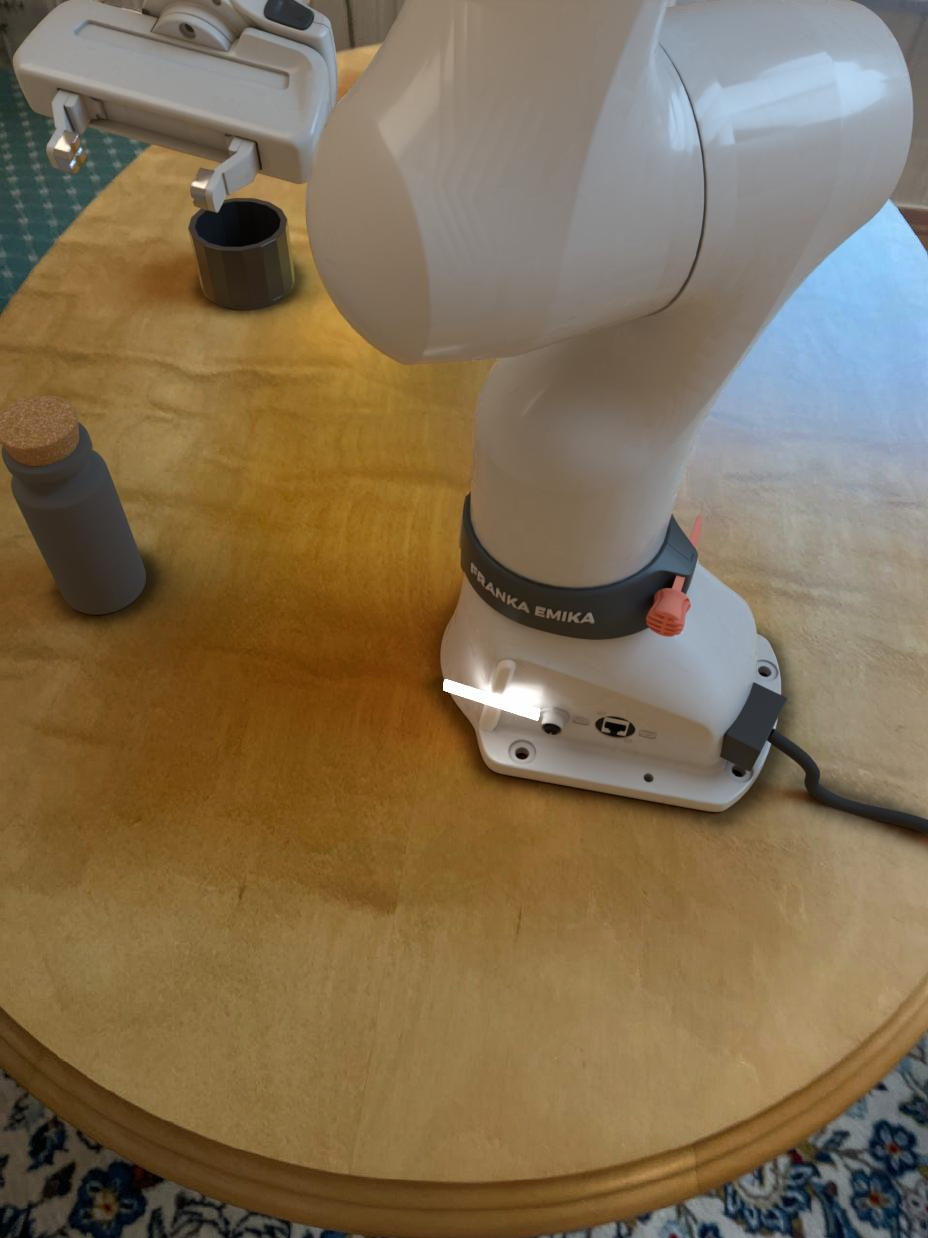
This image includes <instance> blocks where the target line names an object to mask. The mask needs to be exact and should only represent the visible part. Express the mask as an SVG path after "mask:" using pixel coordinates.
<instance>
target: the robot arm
mask: <svg viewBox="0 0 928 1238" xmlns="http://www.w3.org/2000/svg"><path fill="white" fill-rule="evenodd" d="M310 1H311V0H143V3H142V6H141V8H138V7H133V6H129V5H124V4H118V3H117V4H116V3H111V2H108V1H107V0H65V1H64V2H61V3H59V4H58V5H57V6H56V7H54V8H53V9H52V10H50V12H48V14H47V15H46V16H45V17H44V18H42V20H41V21H40V22H39V23H38V24H37V25H36V26H35V27H34V28H33V30H32V31H31V32H29V34H28V35H27V36H26V38H24V40H23V41H22V43H21V44H20V45H19V47H18V48H17V50H16V51H15V52H14V55H13V57H12V66H13V70H14V74H15V76H16V79H17V82H18V85H19V88H20V89H21V91H22V94H23V95H24V98H25V100H26V101H27V103H28V105H29V107H30V108H31V110H32V111H33V112H34V113H36V114H39V115H42V116H45V117H49V118H53V124H54V129H55V130H54V132H53V134H52V136H51V137H50V139H49V140H48V142H47V144H46V150H45V152H46V156H47V158H48V160H49V163H50V165H51V168H52V169H55V170H60V171H64V172H66V173H67V172H68V173H71V174H79V172H80V170H81V168H80V167H81V166H83V165H84V163H85V162H86V160H87V158H88V156H87V153H86V151H85V148H84V147H83V146H82V143H83V142H82V141H81V140H82V139H81V138H80V135H83V134H84V133H85V132H86V130H87V128H89V129H94V130H97V131H101V132H104V133H108V134H112V135H115V136H119V137H123V138H126V139H130V140H134V141H137V142H141V143H145V144H148V145H152V146H156V147H159V148H163V149H167V150H171V151H174V152H178V153H181V154H186V155H190V156H193V157H195V158H196V157H197V158H200V159H203V160H208V161H212V162H215V163H219V165H217V166H215V167H214V168H213V169H212V170H211V169H207V168H204V167H199V168H198V171H197V172H196V174H195V178H194V179H193V180H192V182H191V185H190V187H189V188H190V190H189V193H190V197H191V198H192V199H193V201H192V204H193V207H195V208H199V209H205V210H208V211H213V212H216V213H218V212H219V210H220V208H221V206H222V204H223V202H224V200H226V199H227V196H231V195H232V194H235V193H236V192H238V191H240V190H241V189H243V188H245V187H246V186H249V185H250V184H252V183H254V182H255V179H256V177H257V176H258V174H260V175H262V176H267V177H269V178H274V179H278V180H281V181H285V182H288V183H292V184H296V185H303V184H306V188H305V225H306V231H307V238H308V243H309V247H310V248H309V249H310V251H311V256H312V259H313V262H314V265H315V268H316V271H317V274H318V276H319V279H320V281H321V283H322V286H323V288H324V289H325V291H326V293H327V295H328V296H329V298H330V300H331V301H332V303H333V306H335V308H336V310H337V311H338V312H339V314H340V315H341V317H343V319H344V320H345V321H346V323H347V324H348V325H349V326H350V327H351V328H352V329H353V331H355V333H356V334H357V335H359V336H360V337H361V338H362V339H363V340H364V341H365V342H366V343H368V345H370V346H371V347H373V348H374V349H375V350H377V351H378V352H379V353H380V354H383V355H384V356H386V357H387V358H388V359H390V360H392V361H394V362H395V363H398V364H400V365H403V366H422V365H423V366H424V365H425V366H426V365H440V364H455V363H467V362H468V363H469V362H478V361H488V360H495V361H494V363H493V364H492V366H491V367H490V369H489V370H488V372H487V374H486V376H485V377H484V379H483V381H482V384H481V386H480V388H479V390H478V391H479V392H478V394H477V397H476V400H475V405H474V409H473V418H472V446H471V447H472V449H471V472H470V473H471V477H470V491H469V492H468V493H467V494H466V495H465V496H464V501H463V506H462V512H461V517H460V518H461V519H460V524H459V536H458V538H459V539H458V545H459V546H458V547H459V550H460V569H461V570H462V573H463V580H462V585H461V589H460V594H459V598H458V600H457V604H456V607H455V610H454V612H453V614H452V616H451V617H450V620H449V621H448V623H447V625H446V628H445V630H444V633H443V636H442V639H441V643H440V650H439V651H440V652H439V661H440V669H441V674H442V678H443V691H445V692H448V693H449V695H450V696H451V698H452V700H453V701H454V703H455V704H456V706H457V707H458V709H459V710H460V711H461V712H462V714H463V715H464V716H465V717H466V718H467V720H468V721H469V723H470V724H471V725H472V727H473V729H474V733H475V736H476V742H477V745H478V749H479V752H480V756H481V758H482V760H483V762H484V764H485V765H486V767H487V768H488V769H489V770H491V771H492V772H495V773H497V774H500V775H505V776H511V777H515V778H522V779H526V780H527V779H528V780H532V781H538V782H543V783H549V784H554V785H561V786H565V787H570V788H571V787H572V788H577V789H581V790H582V789H583V790H588V791H593V792H598V793H605V794H610V795H616V796H620V797H626V798H630V799H631V798H632V799H636V800H637V799H638V800H643V801H649V802H653V803H660V804H664V805H671V806H676V807H682V808H687V809H691V810H692V809H693V810H697V811H703V812H711V813H721V812H724V811H727V810H728V809H729V808H730V807H732V806H733V805H735V804H736V803H737V802H738V801H740V800H741V798H742V797H744V796H745V794H747V792H749V790H750V789H751V787H752V786H753V785H754V784H755V781H756V780H757V778H758V777H759V775H760V773H761V771H762V769H763V767H764V765H765V762H766V760H767V757H768V755H769V752H770V750H771V746H773V747H775V748H776V749H777V750H779V751H780V752H781V753H783V754H785V755H786V756H787V757H788V758H790V759H791V760H793V761H794V762H795V763H796V764H797V765H798V766H799V767H800V768H801V769H802V770H803V771H804V773H805V776H804V787H805V789H806V791H807V792H808V793H809V794H810V795H811V796H812V797H813V798H815V800H817V801H819V802H820V803H822V804H824V805H825V806H828V807H831V808H833V809H836V810H837V811H841V812H845V813H849V814H852V815H855V816H859V817H861V818H865V819H870V820H873V821H878V822H883V823H887V824H891V825H896V826H900V827H904V828H907V829H911V830H914V831H916V832H920V833H923V834H925V835H928V819H927V818H924V817H921V816H918V815H914V814H912V813H907V812H904V811H899V810H895V809H891V808H885V807H880V806H876V805H871V804H865V803H861V802H859V801H855V800H850V799H848V798H845V797H842V796H840V795H838V794H836V793H834V792H832V791H830V790H829V789H827V788H826V787H824V786H823V785H822V784H820V781H821V780H820V778H821V771H820V768H819V766H818V764H817V763H816V761H815V760H814V759H813V758H812V757H811V755H809V754H808V753H807V751H805V750H804V749H803V748H801V747H800V746H799V745H797V744H796V743H795V742H794V741H792V740H790V739H789V738H787V737H786V736H785V735H784V734H782V733H780V732H779V730H777V725H778V720H779V716H780V715H781V713H782V711H783V709H784V707H785V705H786V702H787V700H788V697H786V696H784V695H782V679H781V672H780V671H781V670H780V666H779V662H778V659H777V657H776V654H775V652H774V649H773V647H772V645H771V643H770V642H769V640H768V639H767V638H766V637H765V636H763V635H761V634H759V633H758V630H757V624H756V620H755V616H754V613H753V611H752V609H751V607H750V606H749V604H748V603H747V601H746V600H745V599H744V598H743V597H742V596H741V595H739V594H738V593H737V592H736V591H734V590H733V589H731V588H730V587H729V586H728V585H726V584H725V582H723V581H721V580H720V579H719V578H718V577H717V576H715V575H714V574H713V573H712V572H710V570H709V569H707V568H706V567H705V566H703V565H702V564H700V561H699V559H698V558H699V553H698V550H697V546H698V543H699V540H700V536H701V533H702V515H700V514H698V515H697V517H696V519H695V522H694V525H693V528H692V530H691V534H690V535H689V537H688V536H687V534H686V533H685V532H684V531H683V529H682V528H681V526H680V525H679V523H678V521H677V520H676V518H675V516H674V514H673V511H674V508H675V504H676V501H677V497H678V495H679V491H680V489H681V484H682V482H683V479H684V475H685V474H686V469H687V466H688V463H689V460H690V458H691V454H692V450H693V448H694V445H695V443H696V440H697V438H698V436H699V433H700V431H702V428H703V426H704V424H705V423H706V420H707V419H708V416H709V415H710V414H711V412H712V410H713V408H714V406H715V405H716V403H717V402H718V400H719V399H720V397H721V396H722V394H723V392H724V391H725V389H726V387H727V386H728V384H729V383H730V381H731V380H732V379H733V377H734V376H735V374H736V373H737V371H738V370H739V369H740V367H741V365H742V364H743V363H744V361H745V360H746V358H747V357H748V356H749V354H750V353H751V351H752V350H753V348H754V347H755V346H756V344H757V342H759V340H760V338H761V337H762V336H763V334H764V333H765V332H766V330H767V329H768V327H769V326H770V325H771V324H772V322H773V321H774V319H775V318H776V317H777V316H778V314H779V313H780V312H781V310H783V308H784V306H786V304H787V303H788V302H789V300H790V299H791V298H792V296H793V295H794V294H795V293H796V292H797V291H798V290H799V288H800V287H801V286H802V285H803V284H804V282H805V281H806V280H807V279H808V278H809V277H810V276H811V275H812V274H813V273H814V272H815V271H816V270H817V268H819V266H821V265H822V263H824V261H826V260H827V258H829V257H830V256H831V255H832V254H833V253H834V252H835V251H836V250H838V248H840V247H841V246H842V245H843V244H844V243H845V242H847V240H848V239H850V238H851V237H853V235H854V234H855V233H857V232H858V231H859V230H860V229H861V228H863V227H864V226H866V224H868V223H869V222H870V221H871V220H872V219H873V218H875V216H876V215H878V213H879V212H881V210H882V209H883V207H884V206H885V205H886V204H887V202H888V201H889V199H890V198H891V196H892V195H893V193H894V191H895V189H896V187H897V185H898V183H899V181H900V179H901V176H902V174H903V172H904V169H905V166H906V163H907V159H908V156H909V151H910V146H911V142H912V135H913V125H914V98H913V97H914V96H913V87H912V83H911V76H910V73H909V69H908V65H907V62H906V59H905V57H904V53H903V50H902V49H901V46H900V45H899V42H898V41H897V39H896V37H895V35H894V34H893V32H892V31H891V29H890V28H889V26H887V24H886V23H885V22H884V20H882V19H881V17H880V16H879V15H878V14H876V13H875V12H874V11H873V10H872V9H870V8H869V7H867V6H865V5H864V4H861V3H860V2H857V1H854V0H697V1H693V2H687V3H683V4H678V5H672V6H669V3H670V0H404V1H403V4H402V5H401V8H400V10H399V13H398V14H397V16H396V18H395V20H394V22H393V24H392V26H391V27H390V29H389V31H388V32H387V35H386V36H385V39H384V40H383V41H382V44H381V45H380V47H379V48H378V49H377V51H376V53H375V54H374V56H373V57H372V59H371V60H370V61H369V63H368V65H366V67H365V69H364V71H362V73H361V74H360V76H359V77H358V78H357V80H355V82H354V83H353V84H352V85H351V87H350V88H349V89H348V90H347V91H346V93H344V95H343V96H342V97H341V98H340V99H339V100H338V97H339V95H338V94H339V92H338V91H339V72H338V71H339V70H338V69H339V68H338V60H337V50H336V42H335V37H334V33H333V28H332V24H331V21H330V20H329V18H328V17H327V16H325V15H324V14H323V13H321V12H320V11H318V10H316V9H314V8H312V7H311V6H309V4H310ZM760 673H763V674H765V675H766V676H763V675H761V674H760ZM518 754H524V755H525V756H526V758H523V759H521V758H519V757H517V755H518ZM733 771H737V772H739V773H740V774H741V775H742V776H738V775H737V776H736V775H735V774H734V773H733Z"/></svg>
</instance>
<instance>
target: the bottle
mask: <svg viewBox="0 0 928 1238" xmlns="http://www.w3.org/2000/svg"><path fill="white" fill-rule="evenodd" d="M78 419H79V417H78V412H77V409H76V408H75V406H74V405H73V404H72V403H71V402H70V401H68V400H67V399H65V398H63V397H60V396H56V395H47V394H43V395H32V396H27V397H24V398H22V399H19V400H17V401H15V402H13V403H11V404H9V405H8V406H6V407H5V408H4V409H3V410H2V411H1V412H0V445H1V457H2V461H3V463H4V465H5V467H6V469H7V471H8V472H9V473H10V475H12V476H11V480H10V489H11V493H12V495H13V499H14V500H15V502H16V505H17V506H18V509H19V510H20V513H21V515H22V517H23V519H24V521H25V523H26V525H27V527H28V529H29V531H30V533H31V535H32V537H33V540H34V541H35V544H36V545H37V548H38V550H39V552H40V554H41V556H42V558H43V559H44V562H45V564H46V566H47V568H48V570H49V572H50V574H51V576H52V578H53V580H54V583H55V584H56V586H57V588H58V591H59V592H60V594H61V595H62V597H63V599H64V601H65V602H66V603H67V605H68V606H69V607H70V608H72V609H73V610H75V611H77V612H79V613H82V614H85V615H91V616H94V615H95V616H96V615H97V616H100V615H101V616H102V615H108V614H112V613H115V612H118V611H120V610H122V609H124V608H126V607H128V606H129V605H130V604H132V603H133V602H134V601H135V600H136V599H137V598H138V597H139V596H140V595H141V593H142V592H143V591H144V588H145V586H146V583H147V571H146V567H145V565H144V561H143V559H142V557H141V553H140V551H139V549H138V545H137V543H136V540H135V537H134V535H133V531H132V528H131V526H130V524H129V521H128V518H127V515H126V513H125V509H124V507H123V504H122V502H121V499H120V497H119V494H118V493H119V492H118V491H117V488H116V485H115V482H114V480H113V478H112V475H111V473H110V471H109V467H108V466H107V463H106V461H105V459H104V458H103V456H102V455H100V453H98V452H97V451H96V450H95V449H93V442H92V440H91V436H90V434H89V431H88V430H87V428H86V427H85V426H84V425H83V424H82V423H80V422H79V420H78Z"/></svg>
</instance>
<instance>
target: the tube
mask: <svg viewBox="0 0 928 1238" xmlns="http://www.w3.org/2000/svg"><path fill="white" fill-rule="evenodd" d="M187 229H188V235H189V239H190V243H191V248H192V253H193V258H194V261H195V266H196V271H197V275H198V280H199V284H200V287H201V291H202V292H203V294H204V296H205V297H206V299H207V300H209V301H210V302H212V303H213V304H215V305H216V306H219V307H222V308H226V309H230V310H237V311H250V310H258V309H263V308H266V307H269V306H271V305H272V306H273V305H275V304H276V303H278V302H280V301H282V300H283V299H285V298H286V297H287V296H288V295H289V294H290V293H291V291H292V290H293V288H294V286H295V281H296V280H295V266H294V258H293V253H292V244H291V243H292V242H291V237H290V229H289V221H288V218H287V216H286V214H285V212H284V210H283V209H282V208H280V207H279V206H277V205H276V204H274V203H272V202H270V201H268V200H263V199H259V198H255V197H232V198H225V200H224V202H223V204H222V206H221V208H220V210H219V212H218V213H216V212H213V211H208V210H205V209H201V208H199V209H198V211H196V212H195V213H194V214H193V215H192V216H191V217H190V221H189V224H188V227H187Z"/></svg>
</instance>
